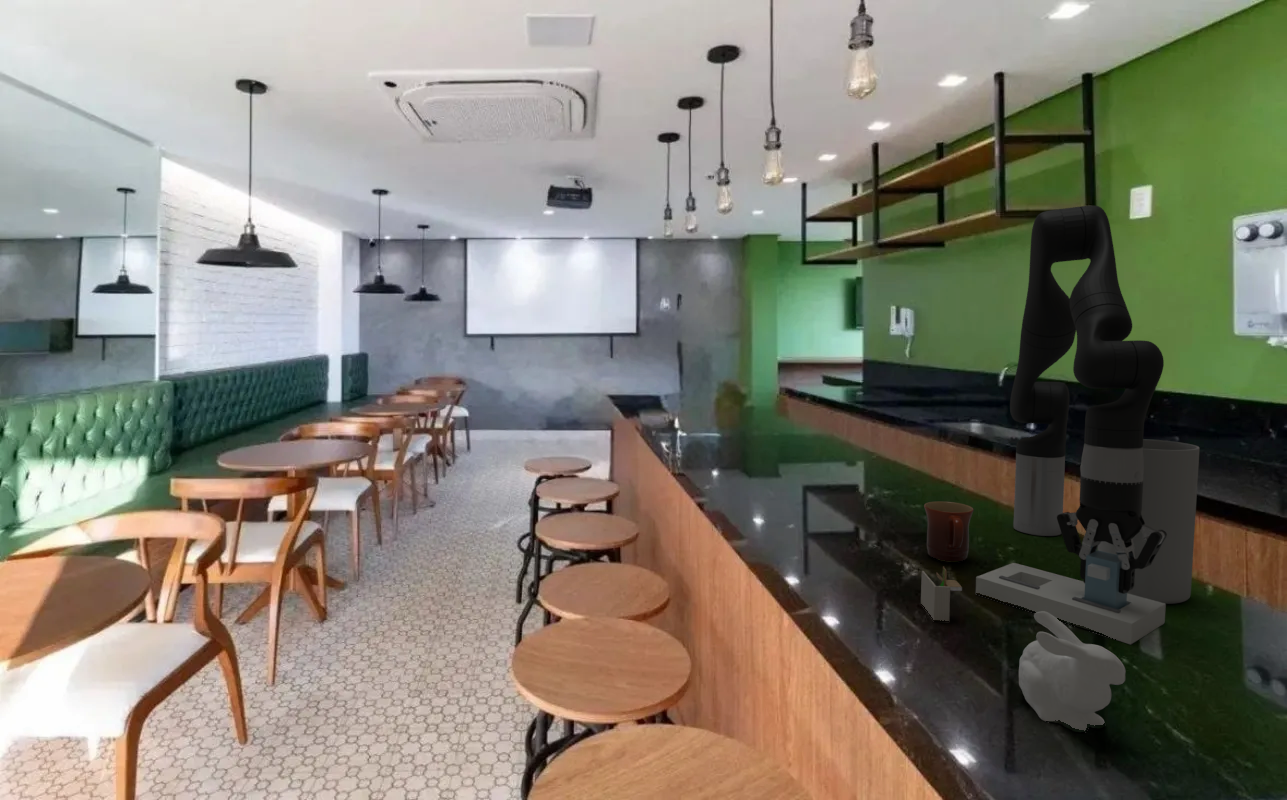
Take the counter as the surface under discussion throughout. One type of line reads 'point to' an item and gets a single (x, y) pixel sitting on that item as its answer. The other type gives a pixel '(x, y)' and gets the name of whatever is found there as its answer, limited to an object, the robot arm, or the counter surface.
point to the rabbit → (1067, 675)
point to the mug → (948, 530)
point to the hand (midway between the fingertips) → (1105, 586)
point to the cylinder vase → (1167, 520)
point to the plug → (1103, 580)
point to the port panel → (1071, 602)
